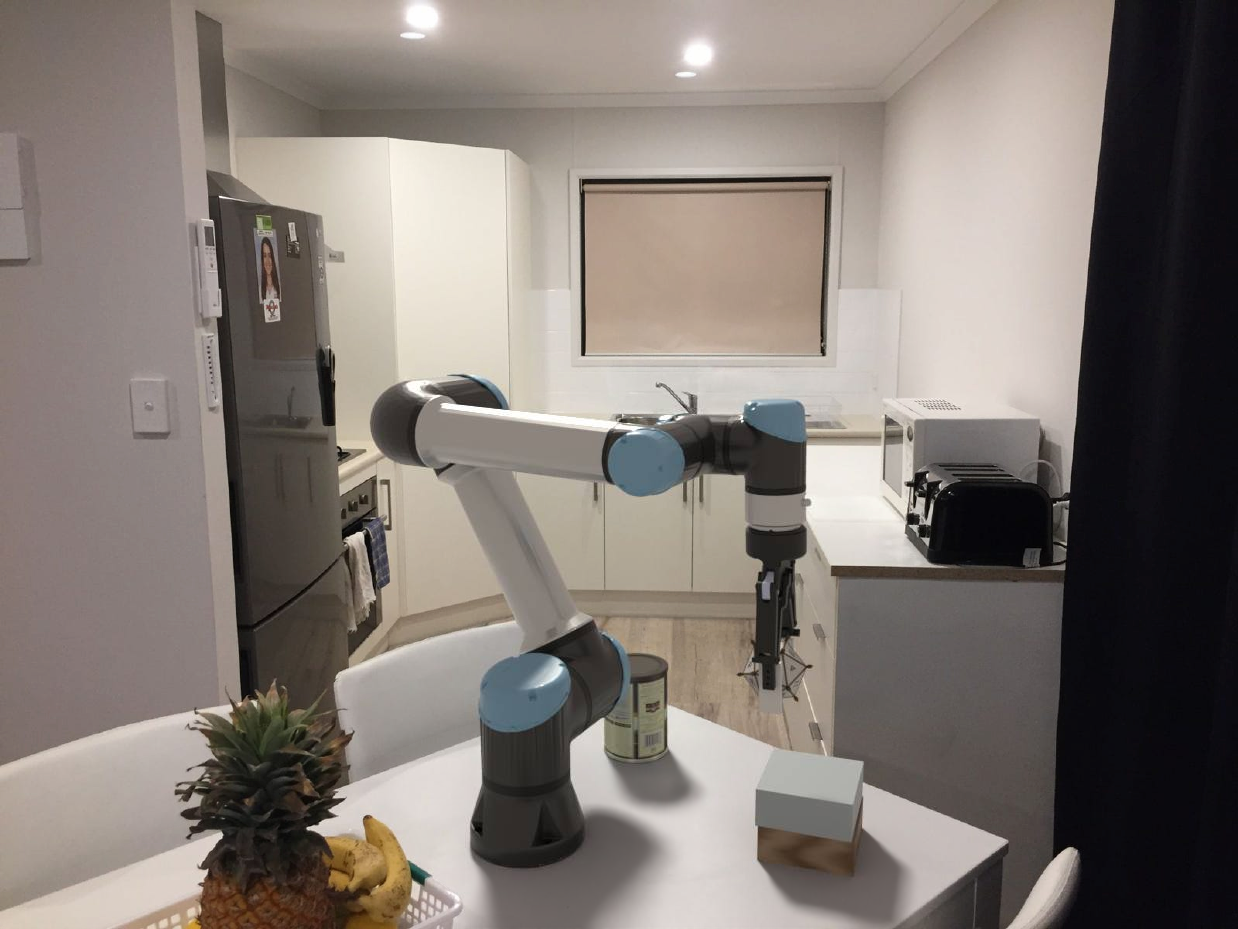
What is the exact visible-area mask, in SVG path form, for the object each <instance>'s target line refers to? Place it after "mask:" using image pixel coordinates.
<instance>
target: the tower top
mask: <svg viewBox="0 0 1238 929" xmlns="http://www.w3.org/2000/svg"><path fill="white" fill-rule="evenodd" d="M864 763H865V762H864V761H863V760H855V759H849V758H841V757H835V756H829V755H821V754H816V753H810V752H809V753H808V752H801V751H795V750H788V749H781V748H775V747H773V750H772V752H771V754H770V756H769V759H768V761H767V762H766V765H765V767H764V769H763V772H762V773H761V775H760V776H761V777H760V778H759V781H758V783H757V786H756V787H755V802H754V803H755V808H754V809H755V810H754V826H755V827H758V826H760V827H766V828H771V829H777V830H783V831H788V832H794V833H800V834H805V835H811V836H817V837H822V838H828V839H834V840H839V841H845V842H852V838H853V834H854V830H855V825H856V821H857V817H858V813H859V808H860V804H861V800H862V796H863V792H864V790H863V789H864Z"/></svg>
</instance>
